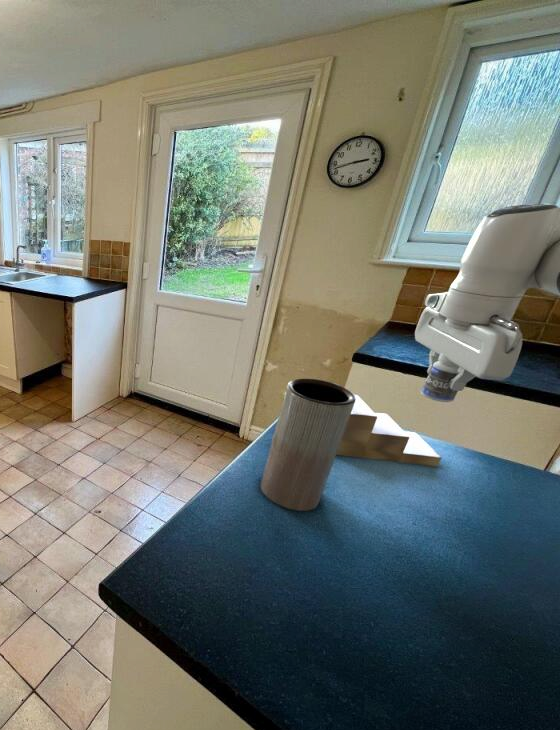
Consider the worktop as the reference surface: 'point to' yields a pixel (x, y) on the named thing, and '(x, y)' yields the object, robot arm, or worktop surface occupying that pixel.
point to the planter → (306, 442)
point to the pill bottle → (440, 380)
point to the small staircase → (383, 439)
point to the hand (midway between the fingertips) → (443, 381)
